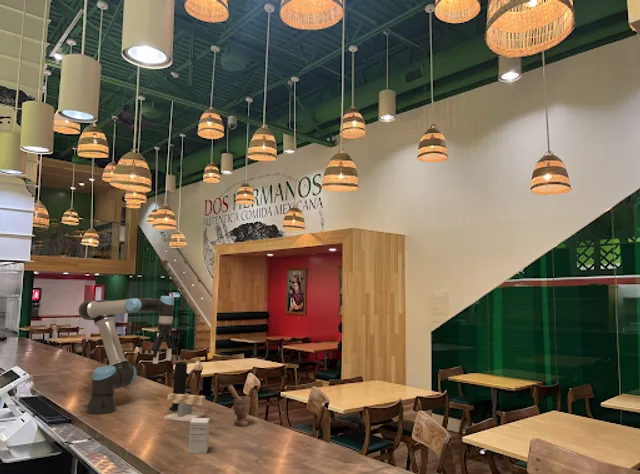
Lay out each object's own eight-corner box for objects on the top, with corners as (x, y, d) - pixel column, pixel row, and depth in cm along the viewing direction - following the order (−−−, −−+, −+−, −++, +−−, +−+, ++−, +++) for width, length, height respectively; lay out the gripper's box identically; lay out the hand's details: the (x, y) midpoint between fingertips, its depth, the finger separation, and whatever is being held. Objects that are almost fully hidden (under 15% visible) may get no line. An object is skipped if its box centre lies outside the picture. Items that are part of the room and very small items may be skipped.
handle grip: (165, 410, 277) (181, 412, 275) (169, 362, 280) (185, 363, 277) (174, 405, 287) (190, 407, 285) (177, 359, 289) (193, 360, 287)
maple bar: (167, 402, 265) (167, 394, 266) (171, 400, 269) (171, 393, 270) (201, 405, 261) (201, 397, 261) (204, 403, 264) (205, 396, 265)
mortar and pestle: (233, 428, 244) (234, 386, 246) (223, 425, 250) (225, 384, 252) (252, 425, 251) (254, 384, 254) (243, 421, 258) (245, 382, 260)
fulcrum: (164, 418, 259) (164, 404, 260) (177, 412, 272) (178, 399, 273) (192, 421, 255) (192, 407, 256) (204, 415, 269) (204, 401, 270)
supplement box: (191, 448, 212) (192, 417, 213) (208, 448, 212) (210, 417, 214) (187, 453, 204) (189, 422, 206) (206, 453, 205) (207, 422, 206)
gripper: (159, 325, 267) (155, 365, 265) (182, 322, 291) (179, 359, 289) (146, 324, 269) (143, 364, 266) (170, 321, 293) (167, 358, 291)
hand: (162, 361), depth 278 cm, fingers open, 13 cm apart
